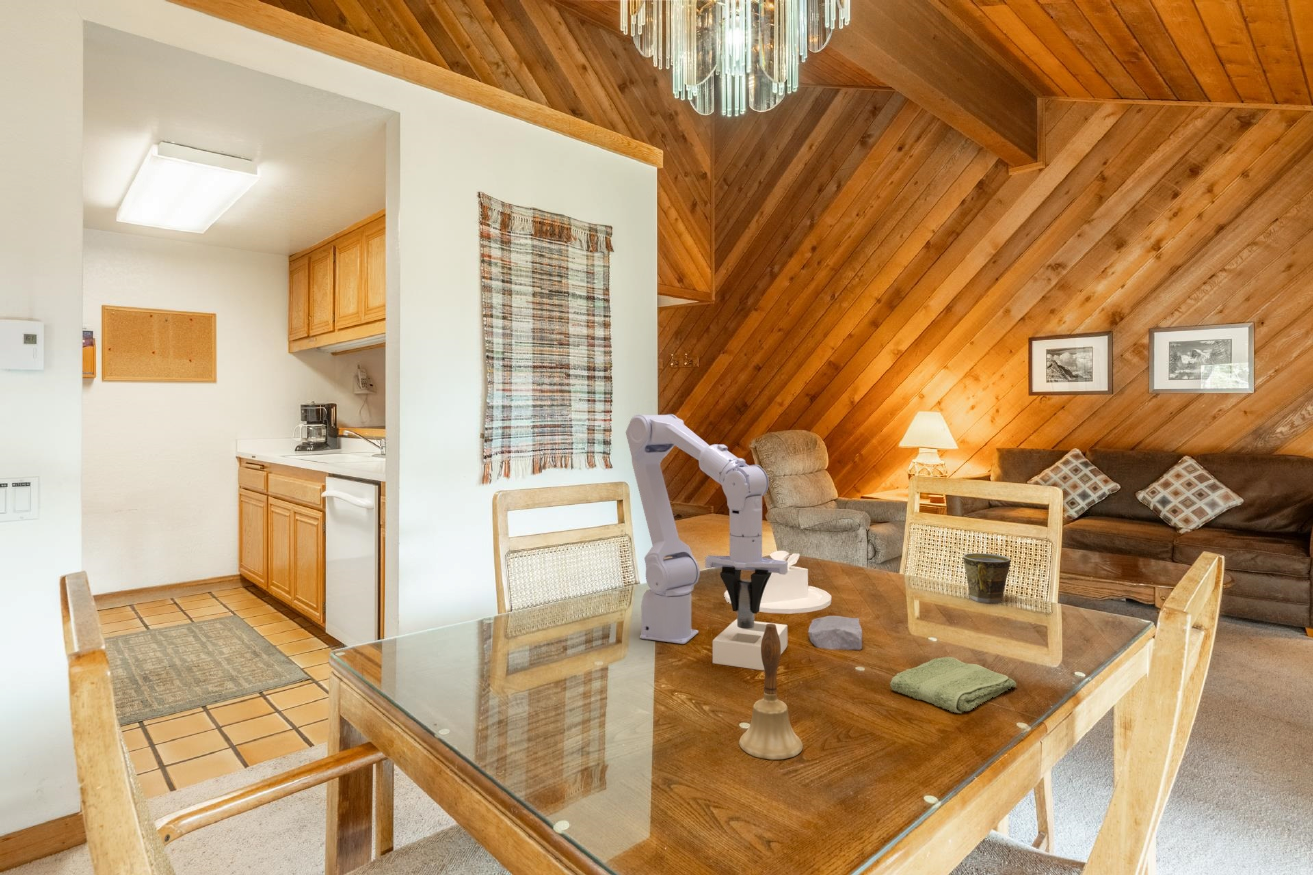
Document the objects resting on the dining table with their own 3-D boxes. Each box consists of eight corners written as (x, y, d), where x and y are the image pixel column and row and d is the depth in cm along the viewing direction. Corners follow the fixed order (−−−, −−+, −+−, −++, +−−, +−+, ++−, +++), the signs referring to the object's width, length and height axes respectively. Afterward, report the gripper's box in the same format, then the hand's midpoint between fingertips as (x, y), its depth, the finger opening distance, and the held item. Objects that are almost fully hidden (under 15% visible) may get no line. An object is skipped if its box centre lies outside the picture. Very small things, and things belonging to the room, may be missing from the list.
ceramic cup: (968, 592, 171) (968, 551, 171) (1013, 598, 165) (1014, 556, 165) (955, 604, 161) (955, 560, 160) (1003, 611, 155) (1003, 565, 155)
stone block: (812, 658, 131) (867, 651, 129) (807, 633, 131) (862, 625, 129) (811, 640, 143) (861, 633, 141) (806, 617, 143) (856, 610, 141)
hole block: (712, 662, 123) (712, 640, 123) (736, 639, 136) (736, 618, 136) (768, 670, 119) (768, 647, 119) (787, 645, 132) (787, 624, 132)
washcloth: (1020, 690, 112) (1020, 670, 112) (961, 720, 101) (961, 698, 101) (943, 667, 122) (943, 649, 122) (882, 692, 111) (882, 672, 111)
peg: (734, 627, 124) (734, 582, 123) (740, 622, 126) (740, 578, 126) (751, 629, 122) (751, 583, 122) (756, 624, 125) (756, 580, 125)
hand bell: (733, 732, 97) (733, 617, 96) (792, 729, 97) (792, 615, 97) (746, 761, 88) (746, 636, 88) (810, 758, 89) (811, 634, 88)
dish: (767, 582, 184) (767, 539, 184) (852, 600, 166) (852, 552, 165) (703, 599, 167) (703, 552, 167) (789, 621, 149) (789, 569, 149)
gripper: (699, 535, 123) (699, 612, 123) (781, 540, 117) (781, 621, 118) (712, 529, 130) (712, 602, 130) (790, 534, 124) (790, 610, 124)
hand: (745, 610), depth 124 cm, fingers closed on peg, 3 cm apart
